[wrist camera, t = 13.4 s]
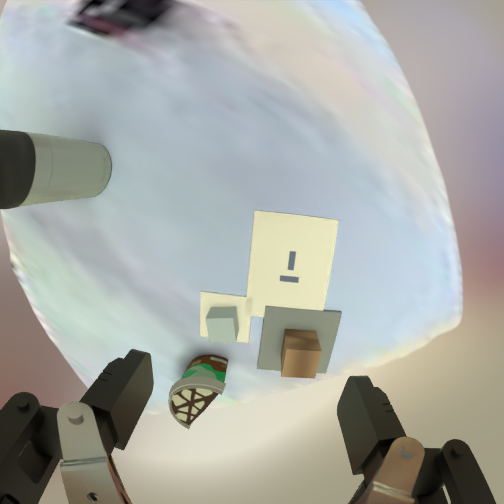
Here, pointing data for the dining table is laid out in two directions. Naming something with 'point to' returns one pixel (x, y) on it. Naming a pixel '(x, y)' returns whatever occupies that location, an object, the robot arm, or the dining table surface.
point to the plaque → (225, 301)
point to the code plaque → (289, 261)
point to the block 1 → (222, 324)
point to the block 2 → (300, 353)
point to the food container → (197, 388)
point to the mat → (300, 320)
